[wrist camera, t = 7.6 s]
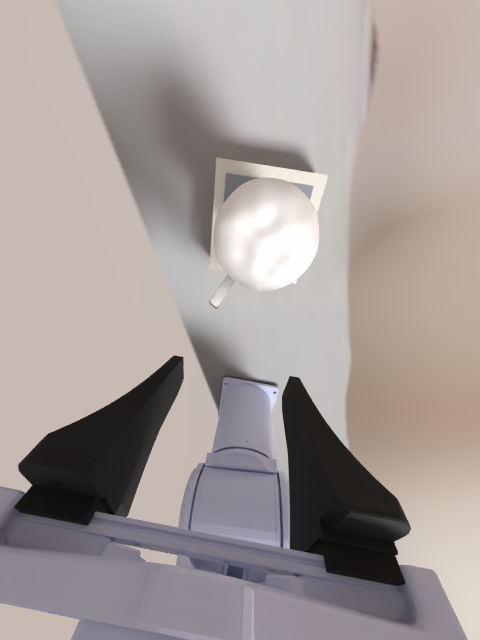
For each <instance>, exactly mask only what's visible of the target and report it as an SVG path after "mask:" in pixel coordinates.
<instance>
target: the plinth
mask: <svg viewBox="0 0 480 640" xmlns="http://www.w3.org/2000/svg"><path fill="white" fill-rule="evenodd" d="M257 178H276V179H281V180H285V181H287V182H290V183H291V184H293V185H295V186H296V187H298V188H299V189H300V190H301V191H302V192H303V193H304V194H305V195H306V196H307V197H308V198H309V200H310V201H311V203H312V204H313V206H314V208H315V210H316V213H317V212H318V208H319V205H320V202H321V198H322V195H323V192H324V188H325V185H326V182H327V178H328V175H324V174H317V173H311V172H305V171H299V170H292V169H286V168H280V167H274V166H267V165H261V164H255V163H248V162H242V161H236V160H230V159H223V158H217V157H216V171H215V187H214V203H213V219H212V235H211V251H210V267H209V269H213V270H219V271H224V270H223V268H222V267H221V265H220V263H219V262H218V259H217V257H216V254H215V249H214V226H215V220H216V217H217V214H218V212H219V210H220V208H221V207H222V205H223V204H224V202H225V201H226V200H227V198H228V197H229V196H230V195H231V194H232V193H233V192H234V191H235V190H236V189H237V188H238V187H239V186H241V185H242V184H244V183H246V182H248V181H250V180H253V179H257ZM224 272H225V271H224ZM297 279H298V278H297ZM297 279H295V280H294V281H293V282H291V283H295V284H296V282H297Z"/></svg>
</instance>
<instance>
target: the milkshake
mask: <svg viewBox="0 0 480 640" xmlns="http://www.w3.org/2000/svg"><path fill="white" fill-rule="evenodd" d="M318 244H319V224H318V217H317V213H316V210H315V208H314V206H313V204H312V203H311V201H310V200H309V198H308V197H307V196H306V195H305V194H304V193H303V192H302V191H301V190H300V189H299V188H298V187H296V186H295V185H293V184H291V183H290V182H287V181H285V180H281V179H276V178H257V179H253V180H250V181H248V182H246V183H244V184H242V185H241V186H239V187H238V188H237V189H236V190H235V191H234V192H233V193H232V194H231V195H230V196H229V197H228V198H227V200H226V201H225V202H224V204H223V205H222V207H221V208H220V210H219V212H218V214H217V217H216V220H215V226H214V249H215V254H216V257H217V259H218V262H219V263H220V265H221V267H222V268H223V270H224V271H225V272H226V273H227V274H228V276H227V277H226V278H225V280H224V281H223V283H222V284H221V285H220V287H219V288H218V289H217V291H216V292H215V294H214V295H213V296H212V298H211V299H210V301H209V303H210V304H211V305H212V306H213V307H215V308H216V309H217V308H218V307H219V306H220V304H221V303H222V301H223V299H224V298H225V296H226V295H227V293H228V292H229V290H230V289H231V287H232V286H233V284H234V283H235V282H237V283H238V284H240V285H242V286H244V287H246V288H248V289H251V290H256V291H268V290H275V289H279V288H282V287H284V286H286V285H288V284H290V283H291V282H293V281H294V280H295V279H297V278H298V277H299V276H300V275H301V274H303V273H304V272H305V271H306V269H307V268H308V267H309V266H310V264H311V263H312V261H313V259H314V257H315V255H316V252H317V249H318Z"/></svg>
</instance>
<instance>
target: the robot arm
mask: <svg viewBox="0 0 480 640" xmlns="http://www.w3.org/2000/svg"><path fill="white" fill-rule="evenodd" d="M183 376H184V373H183V357H180V356H173V357H172V358H171V359H170V360H169V361H167V362H166V363H165V364H164V365H163V366H162V367H161V368H159V369H158V370H157V371H156V372H155V373H153V374H152V375H151V376H150V377H149V378H147V379H146V380H145V381H144V382H142V383H141V384H139V385H138V386H137V387H135V388H134V389H132V390H131V391H130V392H128V393H127V394H125V395H124V396H122V397H120V398H119V399H117V400H116V401H114V402H112V403H111V404H109V405H107V406H105V407H104V408H102V409H100V410H98V411H96V412H94V413H92V414H90V415H88V416H87V417H85V418H83V419H80V420H78V421H76V422H74V423H72V424H70V425H67V426H65V427H63V428H61V429H58V430H56V431H54V432H51V433H49V434H48V435H46V436H45V437H44V438H43V439H42V440H41V441H40V442H39V443H38V444H37V446H35V448H34V449H33V450H32V451H31V452H30V453H29V454H28V455H27V456H26V457H25V458H24V459H23V460H22V461H21V463H20V464H19V465H18V466H19V467H18V468H19V471H20V472H21V474H23V476H24V477H25V478H26V479H27V480H28V481H29V482H30V483H31V484H32V486H31V488H30V489H29V490H28V491H27V493H24V492H22V491H19V490H15V489H10V488H5V487H0V603H3V604H8V605H13V606H18V607H23V608H28V609H33V610H38V611H42V612H47V613H52V614H58V615H62V616H67V617H71V618H76V619H80V621H79V623H78V625H77V627H76V630H75V632H74V634H73V636H72V638H71V640H468V639H467V637H466V635H465V633H464V631H463V629H462V627H461V625H460V623H459V621H458V619H457V616H456V614H455V612H454V610H453V608H452V606H451V604H450V602H449V600H448V598H447V596H446V593H445V591H444V589H443V587H442V585H441V583H440V581H439V579H438V577H437V574H436V573H435V572H434V571H433V570H430V569H425V568H420V567H415V566H409V565H398V562H397V560H396V557H395V555H397V554H398V551H397V549H396V546H395V543H394V541H396V540H398V539H400V538H402V537H404V536H406V535H407V534H409V532H410V530H411V527H410V525H409V522H408V520H407V518H406V516H405V514H404V511H403V510H402V507H401V506H400V503H399V501H398V500H397V498H396V497H395V496H394V495H393V494H391V493H390V492H389V491H388V490H387V489H386V488H385V487H384V486H383V485H382V484H381V483H380V482H379V481H378V480H376V479H375V478H374V477H373V476H372V475H371V474H370V473H369V472H368V471H367V470H366V469H365V468H364V467H363V466H362V465H361V463H360V462H359V461H358V460H357V459H356V458H355V457H354V456H353V455H352V454H351V452H350V451H349V450H348V449H347V448H346V447H345V446H344V444H343V443H342V442H341V441H340V440H339V438H338V437H337V436H336V435H335V433H334V432H333V431H332V429H331V428H330V427H329V425H328V424H327V423H326V421H325V420H324V418H323V417H322V415H321V414H320V412H319V411H318V409H317V408H316V406H315V404H314V403H313V401H312V399H311V398H310V396H309V394H308V393H307V391H306V389H305V387H304V386H303V384H302V382H301V380H300V379H299V378H298V377H292V376H290V377H289V379H288V382H287V385H286V387H285V390H284V392H283V395H282V413H283V421H284V428H285V435H286V442H287V450H288V465H289V480H288V478H287V477H286V476H285V474H284V472H282V471H278V472H277V464H276V459H274V448H273V427H272V409H273V406H274V403H275V401H276V398H277V395H278V392H279V387H278V386H274V385H268V384H263V383H257V382H252V381H246V380H241V379H235V378H230V377H224V379H223V384H222V392H221V399H220V406H219V413H218V418H219V421H218V425H217V430H216V434H215V439H214V444H213V449H212V453H207V457H206V463H200V464H198V466H197V467H196V468H195V469H194V470H193V472H192V473H191V475H190V477H189V480H188V483H187V486H186V489H185V492H184V497H183V501H182V505H181V511H180V518H179V528H178V527H172V526H167V525H162V524H157V523H152V522H147V521H142V520H137V519H131V518H126V517H127V516H128V514H129V510H130V508H131V505H132V502H133V499H134V496H135V493H136V490H137V488H138V485H139V482H140V479H141V476H142V474H143V471H144V468H145V465H146V463H147V460H148V457H149V455H150V453H151V450H152V447H153V445H154V442H155V440H156V437H157V435H158V433H159V430H160V428H161V426H162V424H163V422H164V420H165V418H166V416H167V414H168V412H169V410H170V408H171V406H172V404H173V402H174V400H175V398H176V396H177V394H178V392H179V390H180V387H181V384H182V382H183V379H184V377H183ZM274 391H275V392H274ZM122 544H125V545H130V546H135V547H140V548H145V549H150V550H155V551H161V552H165V553H171V554H176V555H178V556H177V563H176V566H174V565H166V564H159V563H150V562H146V561H145V560H144V559H142V558H141V557H140V550H137V549H134V548H131V547H128V546H125V545H122Z"/></svg>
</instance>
